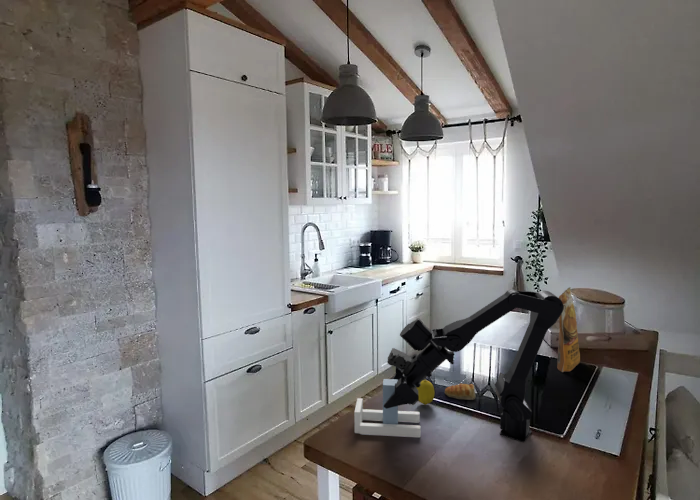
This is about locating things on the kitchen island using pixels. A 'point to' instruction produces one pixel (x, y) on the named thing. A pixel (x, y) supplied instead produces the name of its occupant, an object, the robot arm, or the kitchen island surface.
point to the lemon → (426, 392)
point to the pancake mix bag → (568, 335)
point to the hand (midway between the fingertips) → (385, 399)
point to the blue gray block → (388, 389)
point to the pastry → (461, 391)
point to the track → (385, 429)
